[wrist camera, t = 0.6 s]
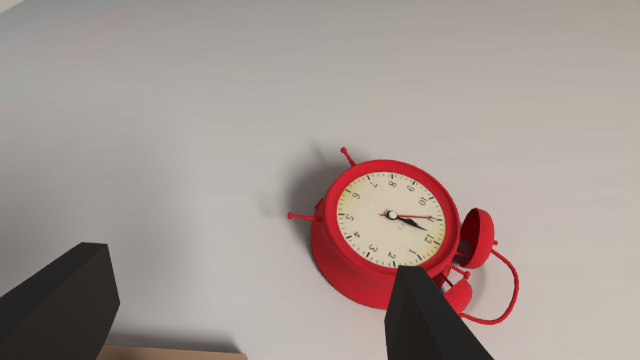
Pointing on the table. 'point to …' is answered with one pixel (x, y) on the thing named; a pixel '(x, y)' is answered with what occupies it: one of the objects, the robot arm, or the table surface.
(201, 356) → the plate
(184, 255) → the table surface
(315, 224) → the alarm clock
